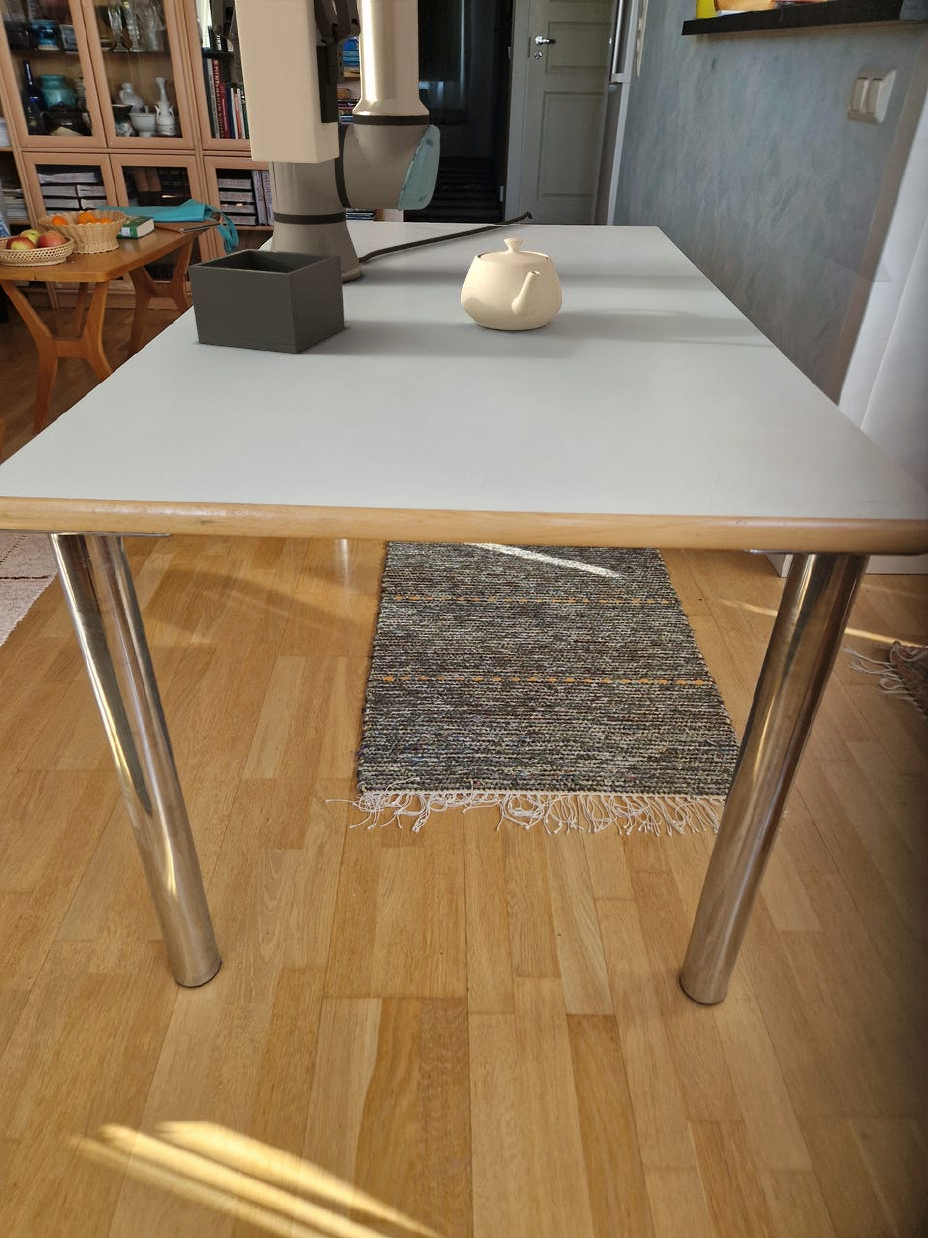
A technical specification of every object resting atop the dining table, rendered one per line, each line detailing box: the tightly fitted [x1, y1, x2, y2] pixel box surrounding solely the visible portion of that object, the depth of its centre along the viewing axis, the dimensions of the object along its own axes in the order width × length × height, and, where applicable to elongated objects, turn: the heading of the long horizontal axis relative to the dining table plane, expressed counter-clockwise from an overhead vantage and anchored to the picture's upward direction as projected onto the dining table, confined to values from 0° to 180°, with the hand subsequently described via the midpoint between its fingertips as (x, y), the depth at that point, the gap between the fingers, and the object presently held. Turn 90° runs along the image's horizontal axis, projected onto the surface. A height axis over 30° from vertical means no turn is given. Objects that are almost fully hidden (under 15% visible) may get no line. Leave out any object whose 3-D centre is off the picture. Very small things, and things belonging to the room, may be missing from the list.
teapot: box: [460, 237, 563, 331], centre depth 115 cm, size 22×14×11 cm, turn 12°
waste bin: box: [187, 248, 346, 355], centre depth 108 cm, size 14×14×9 cm
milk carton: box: [235, 0, 339, 163], centre depth 85 cm, size 7×7×19 cm
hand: (293, 120), depth 89 cm, fingers closed on milk carton, 7 cm apart
